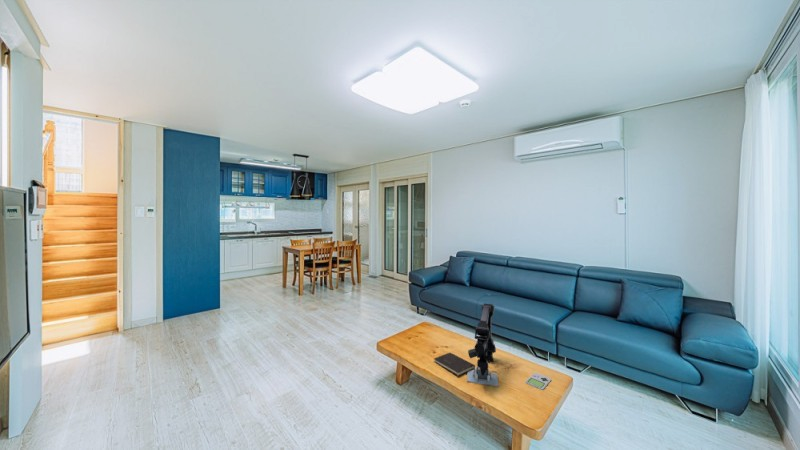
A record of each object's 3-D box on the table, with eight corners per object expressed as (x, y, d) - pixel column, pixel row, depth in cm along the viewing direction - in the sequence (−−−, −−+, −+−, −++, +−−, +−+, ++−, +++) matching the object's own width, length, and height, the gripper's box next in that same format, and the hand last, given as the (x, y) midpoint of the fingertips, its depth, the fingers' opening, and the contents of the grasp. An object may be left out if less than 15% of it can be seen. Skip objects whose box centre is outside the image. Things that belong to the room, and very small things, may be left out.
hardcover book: (458, 376, 173) (457, 372, 173) (433, 361, 192) (433, 358, 192) (475, 368, 182) (475, 364, 182) (450, 355, 201) (450, 352, 201)
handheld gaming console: (551, 378, 170) (542, 388, 160) (551, 380, 170) (542, 391, 160) (534, 371, 177) (525, 381, 167) (534, 373, 178) (524, 383, 167)
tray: (467, 371, 180) (467, 364, 180) (496, 375, 176) (496, 368, 176) (467, 381, 169) (467, 374, 169) (498, 386, 164) (498, 379, 164)
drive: (476, 374, 175) (476, 366, 175) (488, 375, 174) (488, 367, 173) (476, 378, 171) (476, 370, 171) (488, 380, 169) (488, 371, 169)
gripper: (469, 338, 183) (469, 361, 183) (468, 352, 165) (468, 377, 165) (486, 340, 180) (486, 363, 180) (488, 354, 162) (488, 380, 162)
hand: (482, 371), depth 172 cm, fingers open, 9 cm apart
